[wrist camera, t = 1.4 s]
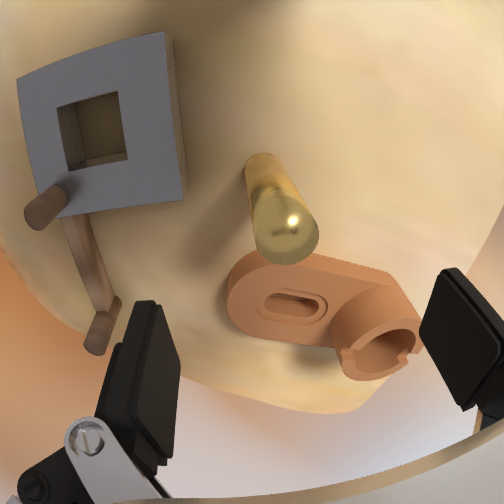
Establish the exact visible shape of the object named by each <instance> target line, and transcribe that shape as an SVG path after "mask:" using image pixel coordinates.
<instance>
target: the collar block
mask: <svg viewBox="0 0 504 504" xmlns="http://www.w3.org/2000/svg"><path fill="white" fill-rule="evenodd" d="M16 80H17V89H18V98H19V105H20V112H21V118H22V124H23V130H24V135H25V140H26V145H27V150H28V155H29V159H30V163H31V168H32V172H33V175H34V179H35V183H36V187H37V190H38V194H39V195H40V194H41V193H42V192H44V191H45V190H46V189H48V188H49V187H50V186H59V187H60V188H62V189H63V190H64V192H65V194H66V196H67V205H66V207H65V208H64V209H63V210H62V211H61V212H60V213H59V214H58V215H57V216H56V217H55V218H60V217H66V216H72V215H78V214H84V213H90V212H97V211H103V210H110V209H117V208H124V207H131V206H139V205H146V204H154V203H162V202H171V201H179V200H184V198H185V195H186V192H187V189H188V186H189V181H188V174H187V167H186V159H185V152H184V144H183V135H182V127H181V118H180V109H179V100H178V90H177V80H176V69H175V57H174V44H173V37H172V36H170V35H169V34H168V33H166V32H165V31H161V32H156V33H151V34H146V35H142V36H137V37H133V38H129V39H125V40H121V41H117V42H114V43H110V44H107V45H103V46H100V47H97V48H94V49H90V50H87V51H84V52H81V53H78V54H76V55H73V56H70V57H67V58H65V59H62V60H59V61H57V62H54V63H52V64H49V65H47V66H45V67H42V68H40V69H38V70H35V71H33V72H31V73H29V74H27V75H24V76H22V77H20V78H18V79H16ZM114 92H118V97H119V105H120V112H121V119H122V126H123V132H124V139H125V145H126V151H127V152H123V153H117V154H112V155H107V156H102V157H98V158H93V159H89V160H86V158H85V153H84V148H83V143H82V138H81V132H80V126H79V120H78V114H77V107H76V103H78V102H81V101H84V100H88V99H91V98H95V97H99V96H102V95H106V94H110V93H114ZM55 218H54V219H55Z"/></svg>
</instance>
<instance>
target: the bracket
mask: <svg viewBox="0 0 504 504" xmlns="http://www.w3.org/2000/svg"><path fill="white" fill-rule="evenodd" d="M274 293H283V294H288V295H293V296H298V297H304V298H308V299H306V300H304V301H296V300H290V299H285V298H280V297H275V296H270V295H272V294H274ZM227 310H228V314H229V317H230V319H231V321H232V322H233V323H234V325H235V326H236V327H237V328H239V329H240V330H241V331H243V332H244V333H246V334H248V335H251V336H254V337H257V338H263V339H269V340H276V341H283V342H290V343H298V344H306V345H314V346H322V347H331V348H335V349H336V352H337V355H338V358H339V361H340V364H341V367H342V370H343V372H344V374H345V375H346V376H347V377H348V378H350V379H353V380H357V381H370V380H376V379H380V378H383V377H386V376H388V375H390V374H392V373H394V372H396V371H398V370H400V369H401V368H403V367H404V366H405V365H407V364H408V361H407V359H406V356H407V355H408V354H409V353H411V354H418V353H419V352H420V351H421V349H422V347H423V346H424V344H423V342H422V340H421V339H420V337H419V327H420V325H421V322H422V319H421V318H420V316H419V315H418V313H417V312H416V310H415V308H414V307H413V305H412V304H411V302H410V301H409V299H408V298H407V296H406V295H405V293H404V292H403V290H402V289H401V287H400V286H399V284H398V283H397V282H396V280H395V279H394V278H393V276H391V275H390V274H389V273H387V272H384V271H381V270H377V269H373V268H369V267H365V266H361V265H357V264H353V263H350V262H346V261H342V260H338V259H334V258H330V257H326V256H322V255H318V254H314V253H311V254H310V255H309V256H308V257H307V258H305V259H304V260H302V261H300V262H298V263H295V264H291V265H278V264H274V263H271V262H269V261H268V260H266V259H265V258H264V257H262V255H261V254H260V253H259V251H258V250H256V251H253V252H251V253H249V254H248V255H246V256H244V257H243V258H242V259H241V260H240V261H239V262H238V263H237V264H236V265H235V266H234V267H233V269H232V270H231V272H230V274H229V277H228V281H227Z"/></svg>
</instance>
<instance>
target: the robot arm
mask: <svg viewBox="0 0 504 504" xmlns="http://www.w3.org/2000/svg"><path fill="white" fill-rule="evenodd" d="M419 337H420V339H421V340H422V342H423V344H424V345H425V347H426V349H427V350H428V352H429V354H430V356H431V357H432V359H433V361H434V363H435V365H436V367H437V368H438V370H439V372H440V374H441V376H442V377H443V379H444V381H445V383H446V385H447V387H448V388H449V391H450V392H451V394H452V396H453V398H454V400H455V402H456V404H457V405H459V406H461V409H462V411H463V412H464V411H466V410H468V409H470V408H473V407H474V406H475V404H477V406H478V411H477V417H476V422H475V426H474V431H473V435H472V436H470V437H468V438H466V439H464V440H462V441H460V442H458V443H456V444H453V445H451V446H449V447H447V448H444V449H442V450H440V451H438V452H435V453H433V454H430V455H428V456H425V457H423V458H421V459H418V460H415V461H412V462H410V463H407V464H404V465H401V466H398V467H395V468H393V469H389V470H386V471H383V472H380V473H376V474H373V475H370V476H366V477H362V478H359V479H354V480H350V481H346V482H342V483H338V484H333V485H328V486H323V487H318V488H313V489H307V490H301V491H294V492H288V493H279V494H270V495H260V496H248V497H233V498H179V499H178V498H173V497H172V496H171V495H170V494H169V493H168V491H167V490H166V489H165V488H164V487H163V485H162V484H161V483H160V482H159V481H158V480H157V478H156V477H155V475H157V467H158V465H159V466H167V458H172V456H173V448H174V435H175V421H176V410H177V400H178V389H179V379H180V369H181V367H180V360H179V357H178V354H177V351H176V348H175V345H174V342H173V339H172V336H171V333H170V330H169V327H168V324H167V321H166V318H165V315H164V312H163V308H162V306H161V305H160V304H159V305H156V302H155V301H154V300H147V301H136V302H135V304H134V307H133V310H132V313H131V316H130V319H129V322H128V326H127V329H126V332H125V335H124V338H123V341H122V343H117V344H116V345H115V347H114V349H113V352H112V356H111V359H110V362H109V365H108V368H107V372H106V376H105V379H104V382H103V386H102V389H101V393H100V396H99V400H98V404H97V408H96V411H95V415H94V417H91V416H90V417H82V418H80V419H77V420H76V421H74V422H73V423H72V424H71V425H70V426H69V427H68V429H67V431H66V433H65V436H64V445H65V446H64V447H63V448H61V449H60V450H58V451H56V452H55V453H53V454H52V455H50V456H49V457H47V458H45V459H44V460H42V461H41V462H39V463H38V464H36V465H34V466H33V467H31V468H29V469H28V470H26V471H25V472H24V473H23V474H22V475H21V476H20V478H19V480H18V485H17V492H18V495H17V496H16V497H15V496H14V495H12V496H11V498H10V499H9V500H8V501H7V503H6V504H504V321H503V320H502V319H501V317H500V316H499V315H498V314H497V312H496V311H495V310H494V309H493V308H492V306H491V305H490V304H489V303H488V301H487V300H486V299H485V298H484V297H483V296H482V295H481V293H480V292H479V291H478V290H477V289H476V288H475V287H474V285H473V284H472V283H471V282H470V281H469V280H468V279H467V278H466V277H465V276H464V275H463V273H462V272H461V271H460V270H459V269H457V268H449V269H443V270H442V271H441V272H440V274H439V275H438V276H437V279H436V282H435V285H434V288H433V291H432V294H431V297H430V300H429V303H428V306H427V309H426V311H425V314H424V317H423V319H422V322H421V325H420V327H419Z"/></svg>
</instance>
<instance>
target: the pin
mask: <svg viewBox="0 0 504 504" xmlns="http://www.w3.org/2000/svg"><path fill="white" fill-rule="evenodd" d="M244 174H245V181H246V187H247V193H248V199H249V205H250V211H251V217H252V223H253V229H254V235H255V242H256V246H257V249H258V251H259V253H260V254H261V255H262V257H264V258H265V259H266V260H268V261H269V262H271V263H274V264H278V265H291V264H295V263H298V262H300V261H302V260H304V259H305V258H307V257H308V256H309V255H310V254H311V253H312V252H313V250H314V249H315V247H316V245H317V243H318V239H319V230H318V226H317V224H316V222H315V220H314V218H313V217H312V215H311V213H310V211H309V210H308V208H307V206H306V204H305V203H304V201H303V199H302V197H301V196H300V194H299V192H298V191H297V189H296V187H295V186H294V184H293V182H292V181H291V179H290V177H289V176H288V174H287V172H286V171H285V169H284V167H283V166H282V164H281V162H280V161H279V160H278V159H277V158H276V157H275V156H273V155H271V154H268V153H260V154H256V155H254V156H253V157H251V158H250V159H249V160H248V162H247V163H246V165H245V169H244Z"/></svg>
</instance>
